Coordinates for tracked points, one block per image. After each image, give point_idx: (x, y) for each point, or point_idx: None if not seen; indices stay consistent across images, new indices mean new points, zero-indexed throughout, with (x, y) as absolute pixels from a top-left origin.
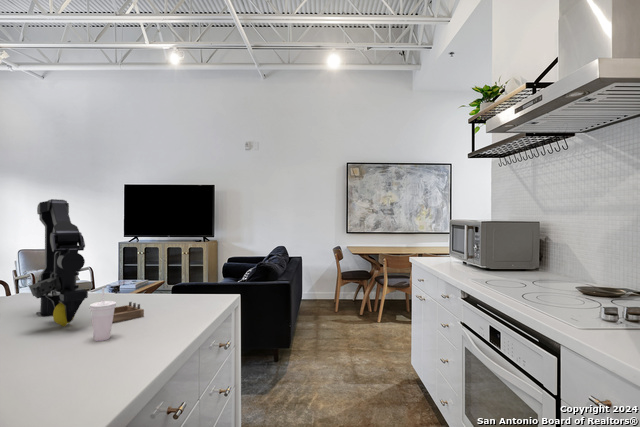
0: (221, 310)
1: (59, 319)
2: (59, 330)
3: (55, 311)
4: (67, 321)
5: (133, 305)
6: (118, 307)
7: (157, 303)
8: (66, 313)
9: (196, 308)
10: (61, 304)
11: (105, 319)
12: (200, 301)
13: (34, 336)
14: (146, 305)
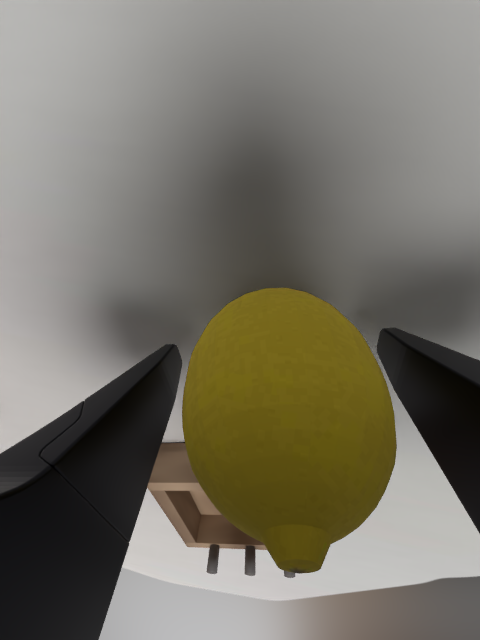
0: (138, 572)
1: (212, 319)
2: (182, 280)
3: (242, 341)
4: (162, 347)
5: (248, 558)
6: None
7: (350, 563)
8: (98, 390)
9: (197, 568)
10: (228, 473)
11: None
12: (267, 587)
13: (98, 87)
14: (355, 550)
